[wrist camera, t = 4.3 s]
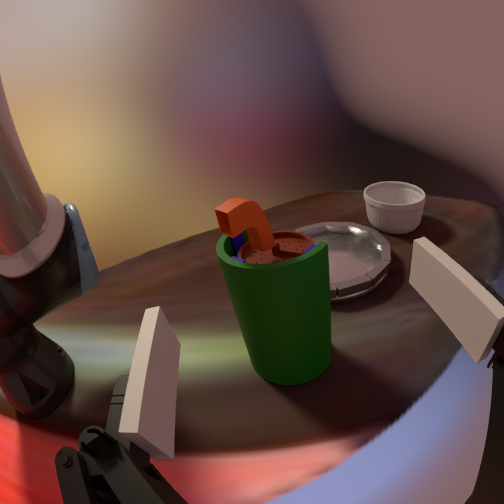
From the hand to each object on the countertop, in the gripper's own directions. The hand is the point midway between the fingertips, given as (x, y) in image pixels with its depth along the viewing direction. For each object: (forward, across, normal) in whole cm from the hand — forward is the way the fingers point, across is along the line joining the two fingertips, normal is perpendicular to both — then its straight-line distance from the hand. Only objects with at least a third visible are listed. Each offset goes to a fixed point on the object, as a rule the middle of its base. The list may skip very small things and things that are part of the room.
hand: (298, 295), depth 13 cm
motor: (+11, 0, -18) cm, 21 cm away
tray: (+27, +11, -18) cm, 34 cm away
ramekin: (+35, +29, -18) cm, 49 cm away
